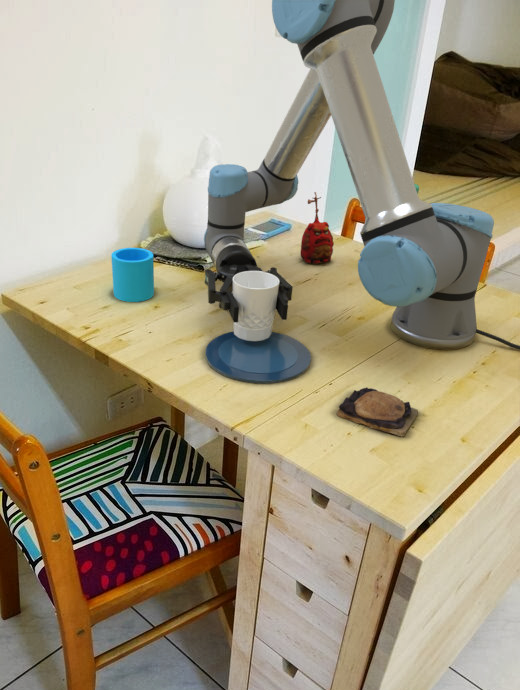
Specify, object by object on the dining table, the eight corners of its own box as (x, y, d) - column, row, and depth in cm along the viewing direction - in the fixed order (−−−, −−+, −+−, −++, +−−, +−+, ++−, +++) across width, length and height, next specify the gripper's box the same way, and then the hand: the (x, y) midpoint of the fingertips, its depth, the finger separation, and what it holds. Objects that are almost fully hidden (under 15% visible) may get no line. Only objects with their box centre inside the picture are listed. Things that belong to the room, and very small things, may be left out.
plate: (325, 348, 114) (325, 344, 114) (285, 395, 101) (286, 391, 100) (234, 324, 121) (234, 320, 121) (185, 365, 107) (185, 361, 107)
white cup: (227, 341, 111) (230, 286, 106) (232, 321, 118) (235, 268, 112) (273, 345, 110) (278, 290, 105) (275, 324, 117) (280, 272, 112)
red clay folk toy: (308, 267, 147) (316, 200, 139) (293, 257, 152) (299, 192, 144) (336, 263, 149) (346, 197, 141) (320, 253, 155) (328, 189, 147)
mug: (158, 299, 129) (158, 260, 125) (118, 304, 127) (116, 264, 122) (143, 277, 138) (142, 239, 134) (105, 281, 136) (103, 243, 132)
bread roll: (420, 413, 98) (425, 392, 96) (402, 440, 92) (407, 419, 90) (354, 391, 102) (358, 371, 100) (332, 415, 96) (336, 394, 94)
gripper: (283, 279, 129) (317, 331, 111) (181, 283, 126) (199, 337, 107) (286, 243, 125) (323, 290, 106) (181, 245, 122) (200, 294, 103)
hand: (260, 313), depth 107 cm, fingers closed on white cup, 8 cm apart
